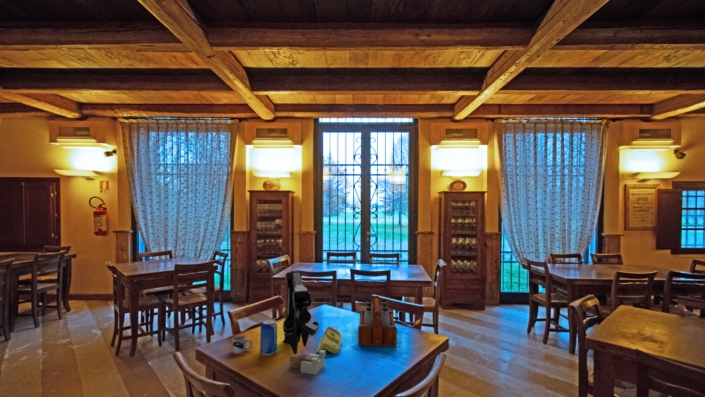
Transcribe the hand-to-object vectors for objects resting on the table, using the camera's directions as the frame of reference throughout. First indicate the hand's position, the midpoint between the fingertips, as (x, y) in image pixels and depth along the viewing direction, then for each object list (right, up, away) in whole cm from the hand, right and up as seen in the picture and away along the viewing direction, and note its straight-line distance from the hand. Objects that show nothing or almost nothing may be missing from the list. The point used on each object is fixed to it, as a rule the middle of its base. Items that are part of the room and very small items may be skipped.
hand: (300, 349), depth 151 cm
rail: (+2, -8, -1) cm, 8 cm away
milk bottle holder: (+39, -10, +38) cm, 55 cm away
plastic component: (+13, -9, +22) cm, 27 cm away
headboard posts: (+6, -8, -2) cm, 10 cm away
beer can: (-19, -8, +14) cm, 25 cm away
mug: (-33, -8, +16) cm, 37 cm away
